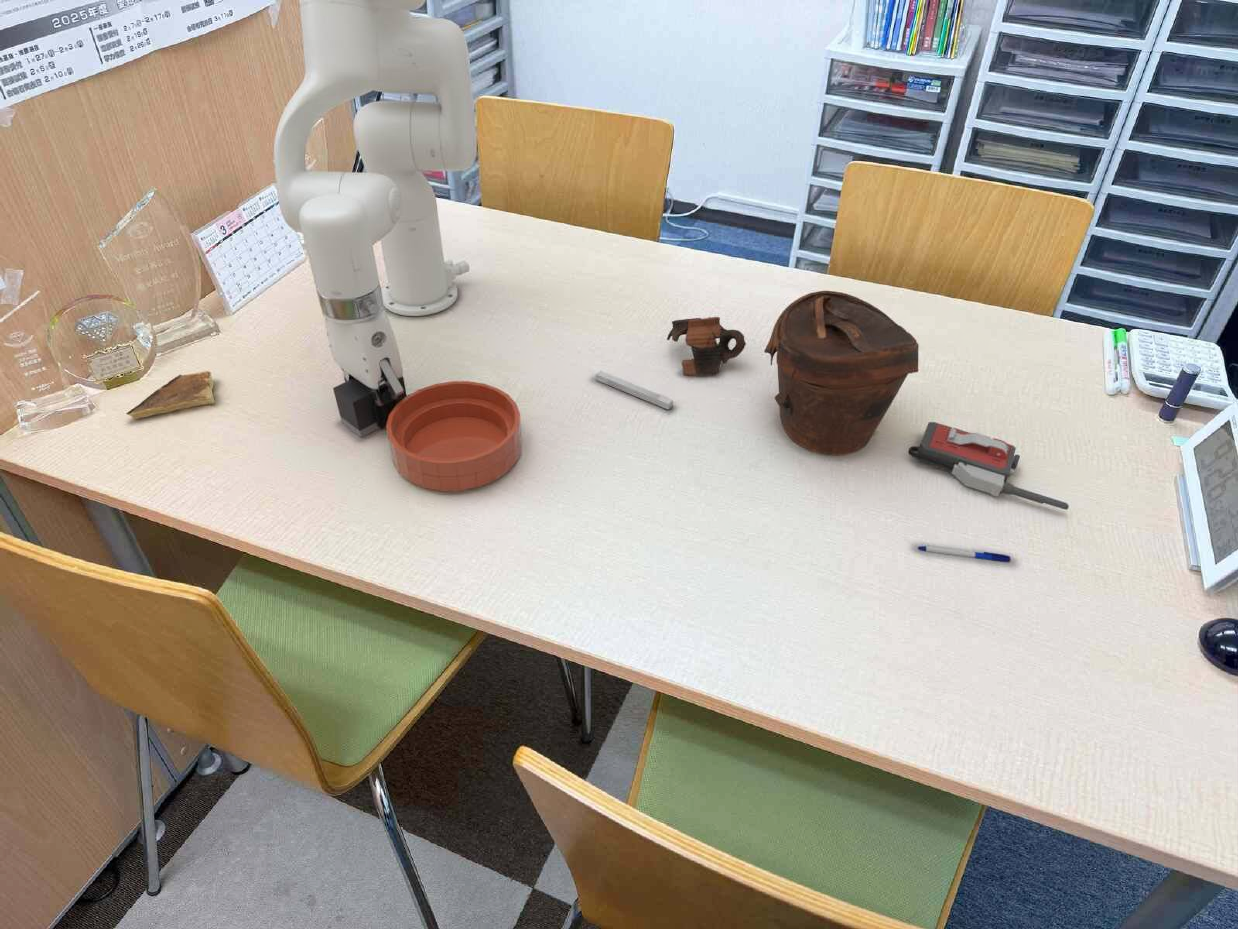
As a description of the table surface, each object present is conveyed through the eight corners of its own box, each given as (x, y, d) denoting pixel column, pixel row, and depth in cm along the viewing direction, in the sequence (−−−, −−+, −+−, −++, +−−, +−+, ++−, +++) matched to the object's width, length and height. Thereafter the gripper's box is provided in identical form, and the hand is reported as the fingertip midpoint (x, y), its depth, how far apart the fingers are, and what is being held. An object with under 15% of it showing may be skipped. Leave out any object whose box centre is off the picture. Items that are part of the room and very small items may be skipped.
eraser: (390, 398, 117) (383, 363, 113) (409, 412, 115) (403, 377, 111) (341, 423, 113) (332, 387, 109) (361, 438, 111) (352, 402, 107)
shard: (130, 422, 112) (125, 411, 111) (132, 391, 117) (127, 380, 116) (215, 405, 115) (211, 395, 114) (213, 376, 121) (210, 366, 119)
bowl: (466, 398, 118) (463, 366, 114) (548, 451, 109) (546, 418, 106) (367, 452, 108) (359, 420, 105) (448, 515, 100) (442, 481, 96)
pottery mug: (663, 377, 124) (659, 322, 122) (679, 370, 132) (675, 319, 131) (742, 373, 119) (739, 316, 118) (754, 366, 128) (751, 313, 127)
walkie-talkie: (901, 468, 108) (1063, 520, 102) (910, 443, 105) (1077, 495, 99) (916, 432, 114) (1069, 479, 108) (924, 406, 111) (1083, 453, 105)
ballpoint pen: (1008, 558, 97) (1011, 552, 96) (1009, 563, 96) (1012, 558, 96) (917, 548, 98) (919, 542, 97) (918, 553, 97) (920, 548, 97)
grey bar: (596, 379, 122) (596, 374, 121) (600, 376, 122) (600, 370, 122) (668, 409, 117) (668, 404, 116) (672, 405, 117) (673, 400, 117)
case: (787, 371, 125) (808, 263, 113) (915, 420, 116) (951, 309, 104) (729, 430, 114) (745, 317, 102) (865, 489, 105) (900, 373, 93)
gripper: (417, 312, 100) (436, 429, 112) (338, 264, 108) (363, 378, 120) (365, 335, 95) (390, 454, 107) (286, 284, 104) (318, 400, 116)
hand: (375, 413), depth 114 cm, fingers open, 5 cm apart
